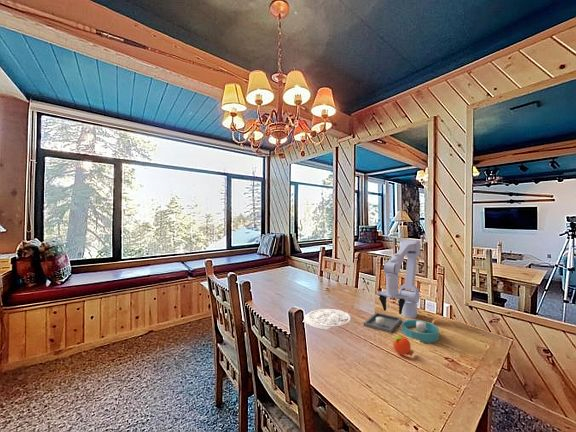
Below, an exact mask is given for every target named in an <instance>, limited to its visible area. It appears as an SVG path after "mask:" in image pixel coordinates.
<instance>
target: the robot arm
mask: <svg viewBox="0 0 576 432" xmlns="http://www.w3.org/2000/svg"><path fill="white" fill-rule="evenodd" d="M421 248H422V247H421V242H420V241H419V240H410V239H409V240H406V239H401V240H400V242H399V250H398V251H397V253H396V252H395V253H394V254H393V255H392V256H391V258H390V260H389V261H386V262H385V263H384V265H383V272H384V276H385V287H386V288H385V291H381V290H380V291H377V297H379V298H378V299H379V301H380V304H381V305H382V309H383V312H384V311H386V310H387V298H390V299H396V300H398V314H399V315H402V316H403V317H404V318H407V319H416V318H417V315H418V303H419V302H420V297H421V295H420V289H419V288H418V287H417V286H416V285H415V282H416V281H415V280H416V271H417V258H418V257H419V256H420V255H421ZM405 256H406V257H407V259H406V270H405V280H404V281H405V282H404V283H403V284H402V285H400V288H399V274H400V272H401V266H402V265H403V263H404V260H405Z"/></svg>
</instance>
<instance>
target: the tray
mask: <svg viewBox="0 0 576 432" xmlns="http://www.w3.org/2000/svg"><path fill="white" fill-rule="evenodd" d="M376 317H383V318H385V327H380V326H377V325H376ZM401 322H403V321H402V318H401V317H398V316H394V315H390V314H385V313H380V312H375V313H374V314H372V315H371V316H370V317H369V318H368V319H366V320H365V321H364V322H363V327H366V328H369V329H374V330H377V331H380V332H384V333H388V334H392V333H393V332H394V331H395V330H396V328H397V327H398V326H399V325H400V324H401Z"/></svg>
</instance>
